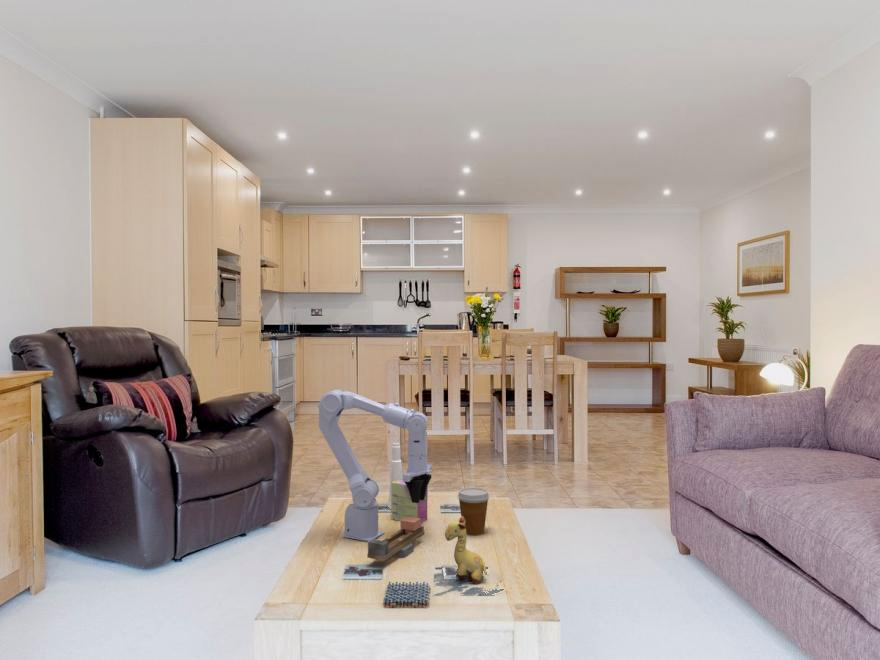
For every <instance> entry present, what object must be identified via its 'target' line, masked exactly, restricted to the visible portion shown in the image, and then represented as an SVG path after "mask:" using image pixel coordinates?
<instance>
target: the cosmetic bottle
mask: <svg viewBox="0 0 880 660" xmlns="http://www.w3.org/2000/svg"><path fill="white" fill-rule="evenodd" d="M400 444H401V443H400V442H393V443H392V447H391V449H392V450H391V461H390V474H389V475H390V476H389V477H390V479H389V491H388V492H389V495H388V503H387V508H388V507H389V508H390V509H391V483H392V482H394V481H397V480H400V479H403V464H402V459H401V445H400Z"/></svg>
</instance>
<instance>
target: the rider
mask: <svg viewBox="0 0 880 660" xmlns="http://www.w3.org/2000/svg"><path fill="white" fill-rule="evenodd" d="M399 521H400V524H399V526H400V530H401V529H404V530H405V534H409V533H410V532H412V531H415V530H417V529H418V528H420V527H421V526H422V523H421V518H415V517H408V516H407V517H405V518H404V519H402V520H399Z"/></svg>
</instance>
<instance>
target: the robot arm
mask: <svg viewBox="0 0 880 660" xmlns="http://www.w3.org/2000/svg"><path fill="white" fill-rule="evenodd" d="M318 403H319V404H318V406H317V408H318V429H319V430H320V432H321V434H322V436H323V437H324V439H325V441H326V442H327V445H328V446H329V448H330V449H331V452H332V454H333V455H334V457H335V458H336V459H335V460H336V461H337V462H338V464H339V466H340V468H341V469H342V472H343V473H344V475H345V477H346V479H348V487H349V490H350V492H351V495H352V496H351V497H352V502H353V503H350V504H348V505H347V506H346V508H345V510H344V534H343V535H342V537H343V538H348V539H353V540H359V541H364V542H369V541H371V540H373V539H375V540H377V538H379V537H381V536H382V535H384V534H385V532H384V531H381V530H379V502H378V500H377V499H376V497H378V494H379V491H380V489H379V485H378V483H377V482H376V481H375V480H374V479H372V477H370V475H369V474H368V473H367V472H366V471H365V470H364V469H363V467H362V465H361V463H360V461H359V460H358V458H357V456H356V455H355V453H354V451H353V449H352V448H351V445H350V444H349V443H348V441H347V438H346V437H345V435H344V433H343V431H342V429H341V427H340V425H339V424H338V423H339V420H340V418H341V415H342V412H343V411H346V410H350V409H359V410H362V411H365V412H369V413H370V414H374V415H377V416H380V417H381V418H382V420H383V422H384V423H387V424H390V425H393V426H395V427H397V428H401V429H403V430H405V429H407V432H408V434H407V435H408V436H407V437H408V438H407V470H406V471H405V473H402V477H403V481H404V482H405V484H406V485H407V487H408V490H409V493H410V497H411V501H412V503H419V501H420V500H424V499H425V495H426V490H427V486H429V483H430V481H431V479H432V474H431V473H432V471H433V464H429V463H428V438H427V437H428V432H427V427H428V424H429V423H428V421H429V419H428V417H427V416H426V415H425V414H424V413H422V412H421V411H419V410H417V411H415V409H413V408H411V409H409V408H405V407H403V406H400V403H398V402H395V403H392V402H390V403H388V404H386V405H384V404H382V403H380V402H377V401H375V400H373V399H370V398H368V397H365V396H363V395H360V394H357V393H355V392H351V391H350V390H349V391H348V390H343V389H341V388H335V389H333V390H331V391H328V392H326V393H324V394H323V395H322V397H321V399H320V401H319V402H318Z"/></svg>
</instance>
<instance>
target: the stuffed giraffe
mask: <svg viewBox="0 0 880 660" xmlns="http://www.w3.org/2000/svg"><path fill="white" fill-rule="evenodd" d="M465 528H466V526H465V518H464V516H462V517H461V516H460V518H459V520H458V521H457V520H454V521H451V522H450V523H449V524H448V526H447V527H446V529H445V532H444V537H445V539H446V541H447V542H449V541H452V540H454V539H456V538H457V541H456V544H455V546H454V554H453V557H454V561H455V563H456V565H457V566H458V569H457V572H456V573H457V575H456V577H455V580H447V579H446V578H445V579H444V576H443V573H444V572H441V573H439V572H438V573H433V583H434V585H433V588H435V587H450V588H449V589H448V590H445V591H442V592H437V593H435V594H434V596H443V595H445V594H448V593H451V592H460V594H461V595H460V596H462V595H463V596H472V597H473V596H493V595H492V594H494V593H498V592H500V591H503V590H504V589H500V590H497V588H494V589H495V590H494V589H492V591H490V590H489V591H488V590H487V591H488V592H489V593H487V591H486V589H484V587H483V586H481V587H479V586H475V587H474V586H473V587H471V588H469V587H470V586H469V585H466V586H463V585H464V584H468V583H470V584H473V585H478V584H480V582H481V581H482V580H483V578H482V577H483V575H485V576H486V575H487V576H488V574H487V572H486V569H488V567H489V566H486V563H485V561H484V559H483V558H482V557H481V556H480V555H479V554H477V553H475V552H474V551H471V550H469V549H467V547H466V544H467V540H468V539H467V534H466V529H465ZM443 567H444V566H442V567H441V566H439V567H438V566H437V567H435V570H442V568H443ZM483 571H484V573H485V574H483ZM467 588H469V589H467ZM464 589H466V590H464ZM483 589H484V590H483ZM463 591H464V592H463ZM484 591H485V592H486V593H487V594H486V593H485V592H484ZM494 595H495V594H494Z"/></svg>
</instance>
